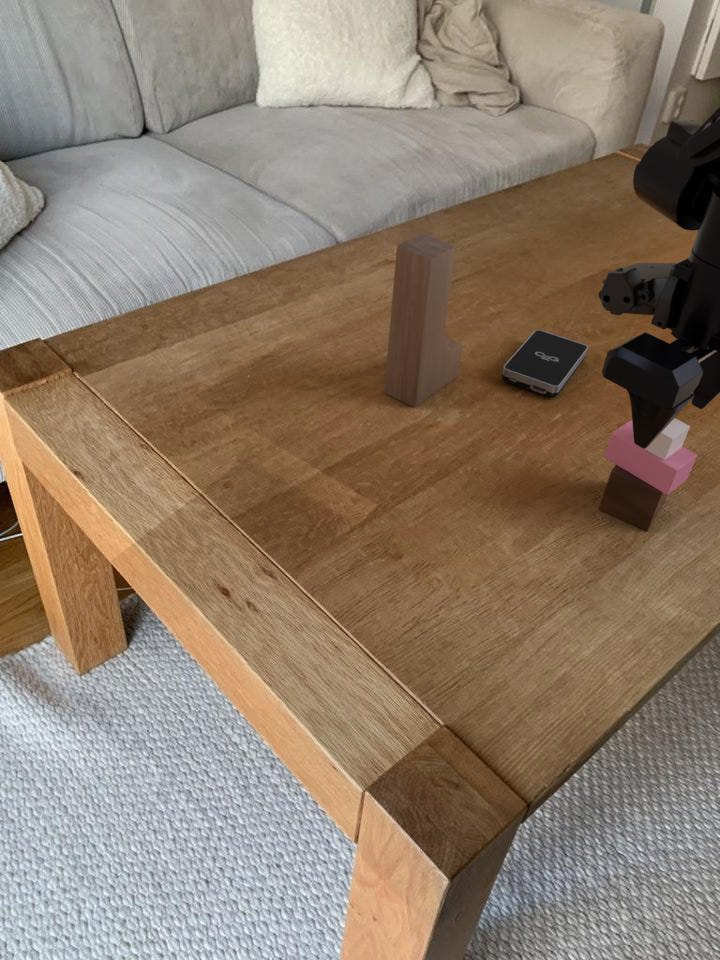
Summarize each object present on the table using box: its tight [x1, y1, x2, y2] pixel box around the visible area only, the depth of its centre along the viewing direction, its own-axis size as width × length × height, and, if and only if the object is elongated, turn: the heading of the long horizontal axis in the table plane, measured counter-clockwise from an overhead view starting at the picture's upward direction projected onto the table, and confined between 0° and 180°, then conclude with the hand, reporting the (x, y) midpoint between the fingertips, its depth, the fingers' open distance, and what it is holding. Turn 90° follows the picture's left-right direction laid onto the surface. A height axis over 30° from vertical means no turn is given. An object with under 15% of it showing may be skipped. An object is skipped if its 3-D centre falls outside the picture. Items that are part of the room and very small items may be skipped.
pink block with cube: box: [603, 417, 698, 495], centre depth 76 cm, size 7×4×6 cm, turn 42°
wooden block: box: [383, 233, 463, 408], centre depth 89 cm, size 9×4×18 cm, turn 141°
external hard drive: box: [501, 329, 589, 399], centre depth 98 cm, size 7×11×2 cm, turn 149°
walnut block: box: [598, 464, 669, 532], centre depth 79 cm, size 5×5×5 cm
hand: (669, 425), depth 71 cm, fingers open, 9 cm apart
